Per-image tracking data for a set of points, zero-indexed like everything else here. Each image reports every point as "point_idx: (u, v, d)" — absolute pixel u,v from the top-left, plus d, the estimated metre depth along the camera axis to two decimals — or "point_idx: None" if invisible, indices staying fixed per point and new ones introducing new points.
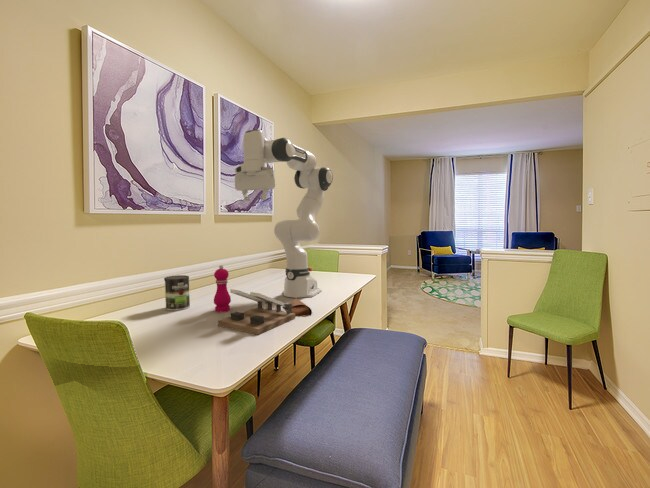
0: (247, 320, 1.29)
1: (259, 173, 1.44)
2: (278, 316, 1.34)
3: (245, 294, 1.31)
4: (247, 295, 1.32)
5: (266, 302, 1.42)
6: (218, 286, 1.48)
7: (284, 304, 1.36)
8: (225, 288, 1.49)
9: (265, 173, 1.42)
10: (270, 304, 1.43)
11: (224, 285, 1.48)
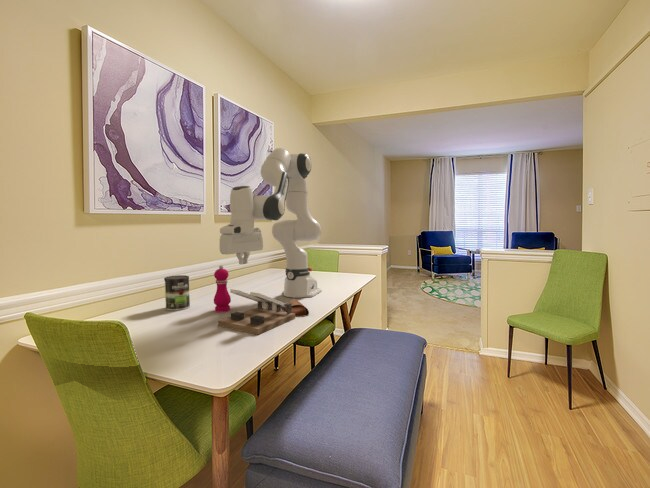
0: (247, 320, 1.29)
1: (254, 234, 1.35)
2: (278, 316, 1.34)
3: (245, 294, 1.31)
4: (247, 295, 1.32)
5: (266, 302, 1.42)
6: (218, 286, 1.48)
7: (284, 304, 1.36)
8: (225, 288, 1.49)
9: (259, 235, 1.37)
10: (270, 304, 1.43)
11: (224, 285, 1.48)
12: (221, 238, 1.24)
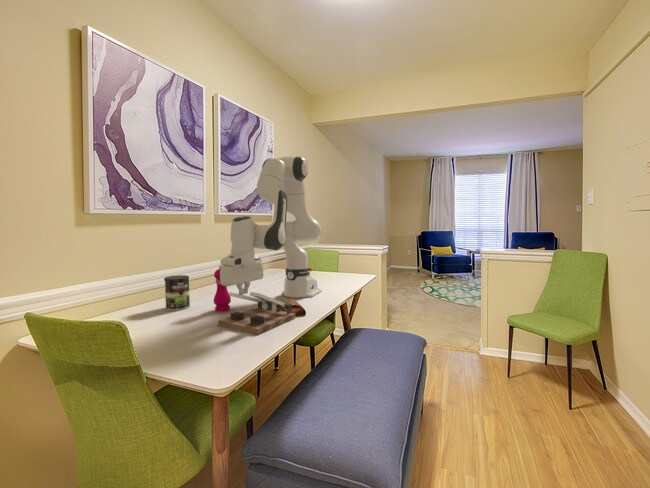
0: (247, 320, 1.29)
1: (254, 264, 1.35)
2: (278, 316, 1.34)
3: (244, 297, 1.31)
4: (246, 297, 1.32)
5: (266, 302, 1.42)
6: (218, 286, 1.48)
7: (284, 304, 1.36)
8: (225, 288, 1.49)
9: (259, 264, 1.38)
10: (270, 304, 1.43)
11: None
12: (222, 270, 1.25)
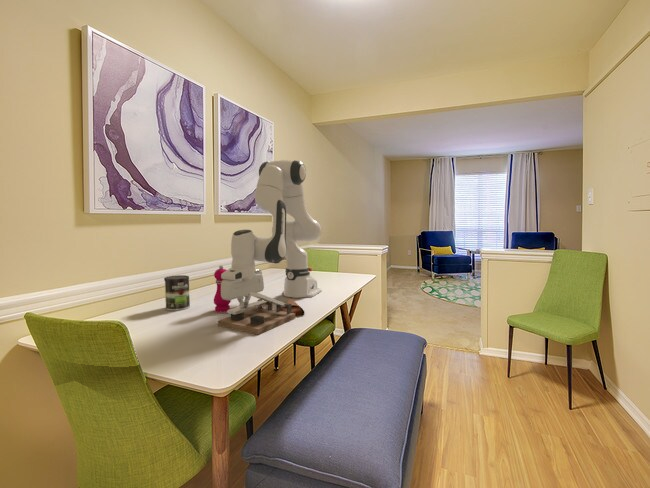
0: (247, 320, 1.29)
1: (254, 277, 1.36)
2: (278, 316, 1.34)
3: (243, 310, 1.31)
4: (245, 310, 1.32)
5: (266, 303, 1.42)
6: (218, 286, 1.48)
7: (284, 304, 1.36)
8: None
9: (260, 277, 1.39)
10: (270, 304, 1.43)
11: None
12: (222, 284, 1.26)
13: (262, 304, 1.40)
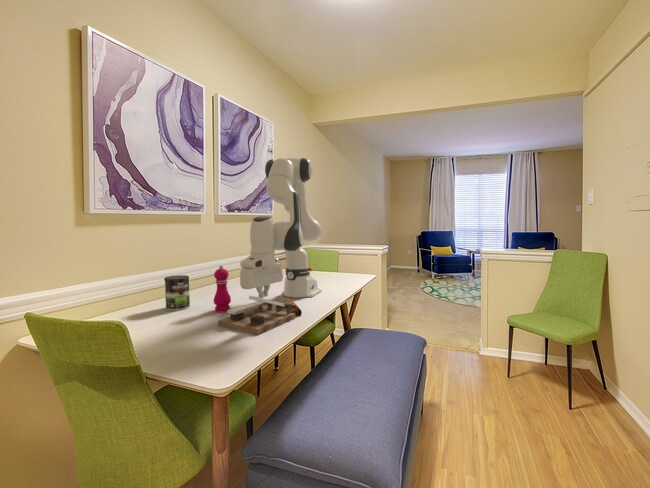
0: (247, 320, 1.29)
1: (274, 266, 1.30)
2: (278, 316, 1.34)
3: (243, 310, 1.31)
4: (245, 310, 1.32)
5: (266, 303, 1.42)
6: (218, 286, 1.48)
7: (284, 304, 1.36)
8: (225, 288, 1.49)
9: (279, 266, 1.33)
10: (270, 304, 1.43)
11: (224, 285, 1.48)
12: (242, 272, 1.20)
13: (262, 304, 1.40)
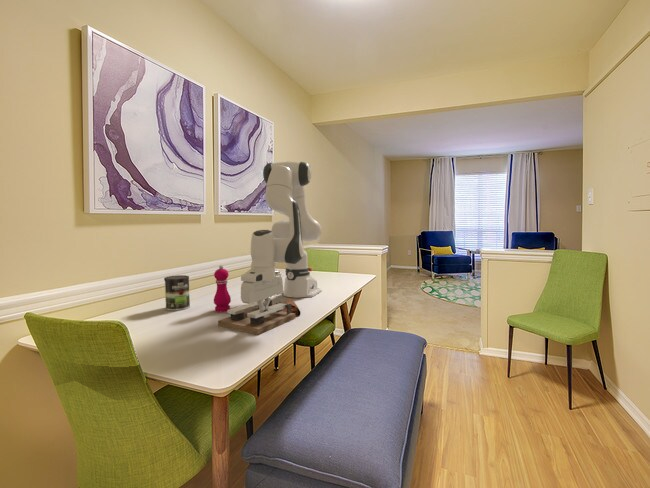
0: (247, 320, 1.29)
1: (274, 279, 1.31)
2: (278, 316, 1.34)
3: (243, 310, 1.31)
4: (245, 310, 1.32)
5: None
6: (218, 286, 1.48)
7: (284, 306, 1.36)
8: (225, 288, 1.49)
9: (279, 279, 1.33)
10: (270, 304, 1.43)
11: (224, 285, 1.48)
12: (242, 286, 1.20)
13: None
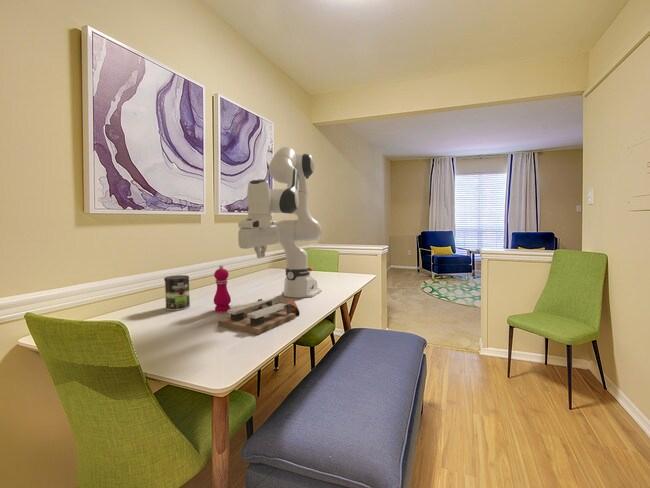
0: (247, 320, 1.29)
1: (271, 228, 1.35)
2: (278, 316, 1.34)
3: (243, 310, 1.31)
4: (245, 310, 1.32)
5: (266, 303, 1.42)
6: (218, 286, 1.48)
7: (284, 306, 1.36)
8: (225, 288, 1.49)
9: (276, 228, 1.38)
10: (270, 304, 1.43)
11: (224, 285, 1.48)
12: (240, 232, 1.25)
13: (262, 304, 1.40)
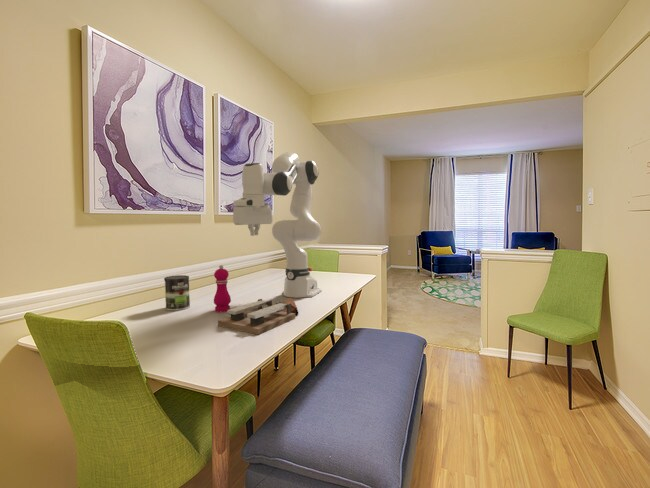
0: (247, 320, 1.29)
1: (264, 209, 1.45)
2: (278, 316, 1.34)
3: (243, 310, 1.31)
4: (245, 310, 1.32)
5: (266, 303, 1.42)
6: (218, 286, 1.48)
7: (284, 306, 1.36)
8: (225, 288, 1.49)
9: (269, 209, 1.48)
10: (270, 304, 1.43)
11: (224, 285, 1.48)
12: (234, 210, 1.35)
13: (262, 304, 1.40)
